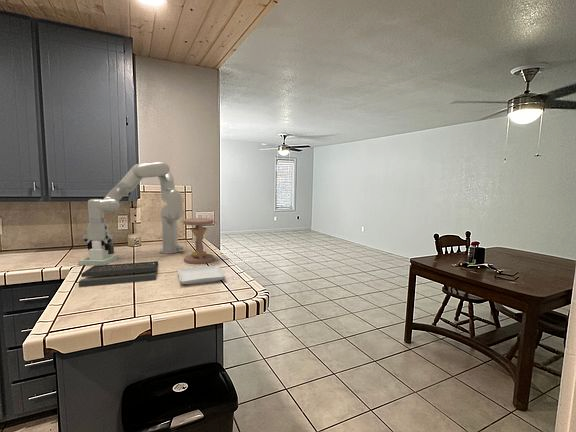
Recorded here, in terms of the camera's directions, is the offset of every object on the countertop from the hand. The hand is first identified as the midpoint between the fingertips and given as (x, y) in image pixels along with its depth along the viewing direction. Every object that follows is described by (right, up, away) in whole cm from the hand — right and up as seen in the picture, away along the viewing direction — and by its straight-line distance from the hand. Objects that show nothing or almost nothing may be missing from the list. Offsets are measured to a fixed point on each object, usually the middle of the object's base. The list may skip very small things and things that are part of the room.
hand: (98, 249), depth 174 cm
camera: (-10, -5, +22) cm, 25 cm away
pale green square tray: (0, -7, +1) cm, 7 cm away
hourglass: (+55, -8, +9) cm, 57 cm away
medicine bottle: (0, -6, +1) cm, 6 cm away
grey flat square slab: (+66, -12, -23) cm, 71 cm away
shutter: (+25, -11, -19) cm, 33 cm away
